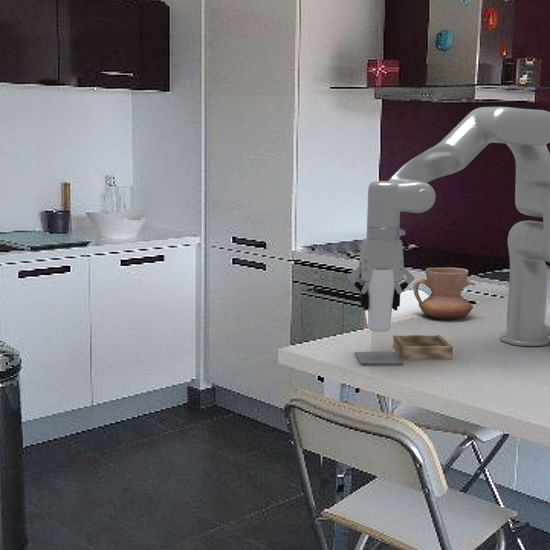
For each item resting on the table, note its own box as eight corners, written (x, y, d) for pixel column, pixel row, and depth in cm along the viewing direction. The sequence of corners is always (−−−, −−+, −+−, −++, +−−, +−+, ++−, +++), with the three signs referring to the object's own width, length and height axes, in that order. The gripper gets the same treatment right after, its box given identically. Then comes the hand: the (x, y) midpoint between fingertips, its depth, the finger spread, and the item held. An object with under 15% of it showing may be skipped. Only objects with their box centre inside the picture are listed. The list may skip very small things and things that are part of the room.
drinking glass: (392, 333, 198) (394, 270, 195) (363, 332, 199) (365, 269, 196) (394, 327, 204) (396, 265, 202) (366, 325, 205) (368, 264, 203)
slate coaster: (394, 353, 208) (394, 351, 208) (403, 365, 198) (403, 362, 198) (354, 354, 207) (354, 351, 207) (361, 365, 198) (361, 363, 197)
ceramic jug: (475, 313, 254) (477, 267, 252) (473, 323, 241) (475, 274, 238) (415, 310, 259) (416, 265, 257) (410, 320, 245) (411, 272, 243)
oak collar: (439, 346, 216) (440, 334, 215) (452, 359, 204) (452, 347, 204) (393, 346, 215) (393, 335, 214) (403, 359, 203) (403, 347, 203)
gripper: (415, 232, 202) (412, 306, 205) (343, 232, 201) (341, 306, 204) (423, 236, 194) (419, 312, 198) (348, 236, 193) (346, 312, 196)
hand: (379, 308), depth 201 cm, fingers closed on drinking glass, 6 cm apart
